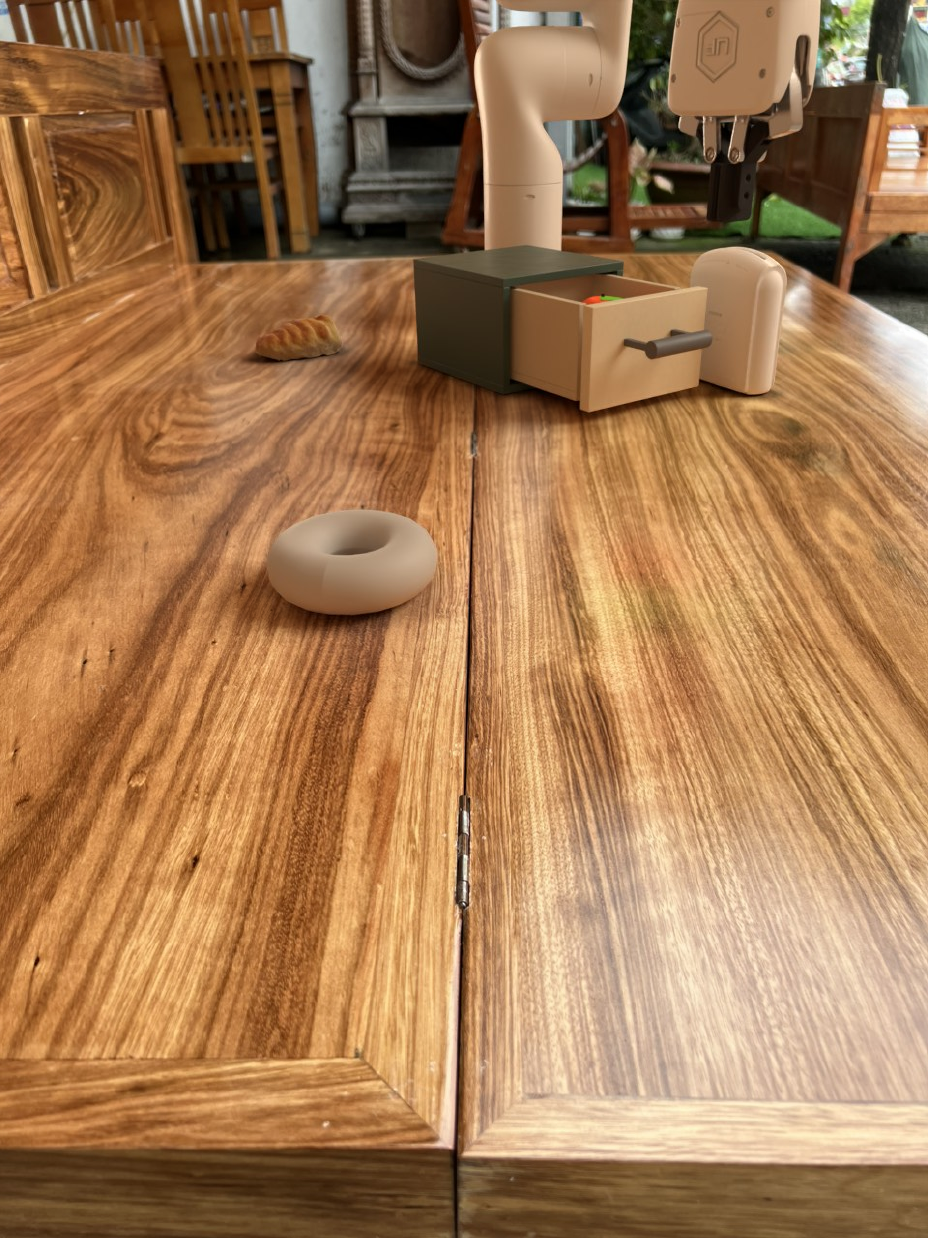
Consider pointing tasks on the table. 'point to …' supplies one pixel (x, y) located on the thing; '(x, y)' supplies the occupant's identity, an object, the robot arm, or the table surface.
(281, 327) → the pastry
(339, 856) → the table surface
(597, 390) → the drawer
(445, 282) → the cabinet
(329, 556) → the donut
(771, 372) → the photo printer
